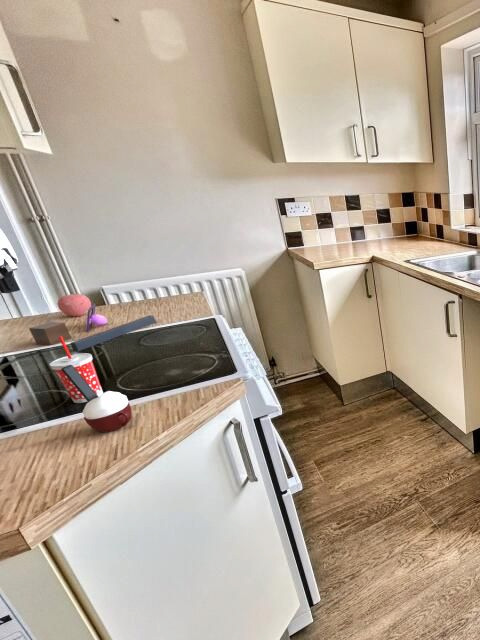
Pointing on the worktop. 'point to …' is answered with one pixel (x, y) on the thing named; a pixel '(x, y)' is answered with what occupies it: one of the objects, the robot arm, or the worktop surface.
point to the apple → (74, 304)
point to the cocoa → (101, 404)
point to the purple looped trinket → (94, 318)
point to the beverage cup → (84, 369)
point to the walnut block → (50, 333)
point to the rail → (112, 333)
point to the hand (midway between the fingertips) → (10, 291)
